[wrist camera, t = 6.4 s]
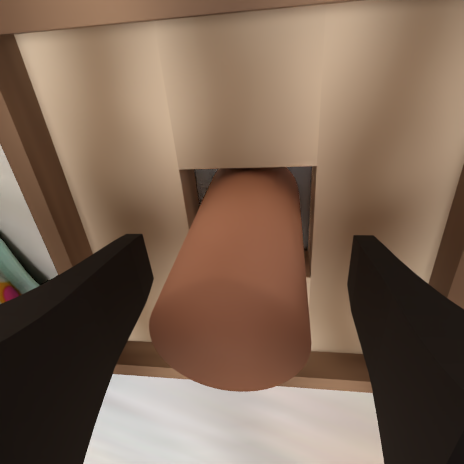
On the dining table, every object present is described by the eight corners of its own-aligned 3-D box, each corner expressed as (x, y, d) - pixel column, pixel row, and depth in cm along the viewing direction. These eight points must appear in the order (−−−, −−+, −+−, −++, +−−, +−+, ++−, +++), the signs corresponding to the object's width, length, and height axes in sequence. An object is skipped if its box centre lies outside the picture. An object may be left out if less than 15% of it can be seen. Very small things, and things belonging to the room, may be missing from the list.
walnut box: (517, -46, 10) (617, -74, 7) (408, 335, 18) (432, 397, 15) (22, 8, 12) (-62, 5, 9) (128, 322, 21) (102, 372, 18)
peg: (303, 155, 14) (321, 286, 7) (295, 238, 16) (303, 399, 9) (206, 152, 14) (136, 272, 7) (211, 233, 16) (159, 382, 10)
